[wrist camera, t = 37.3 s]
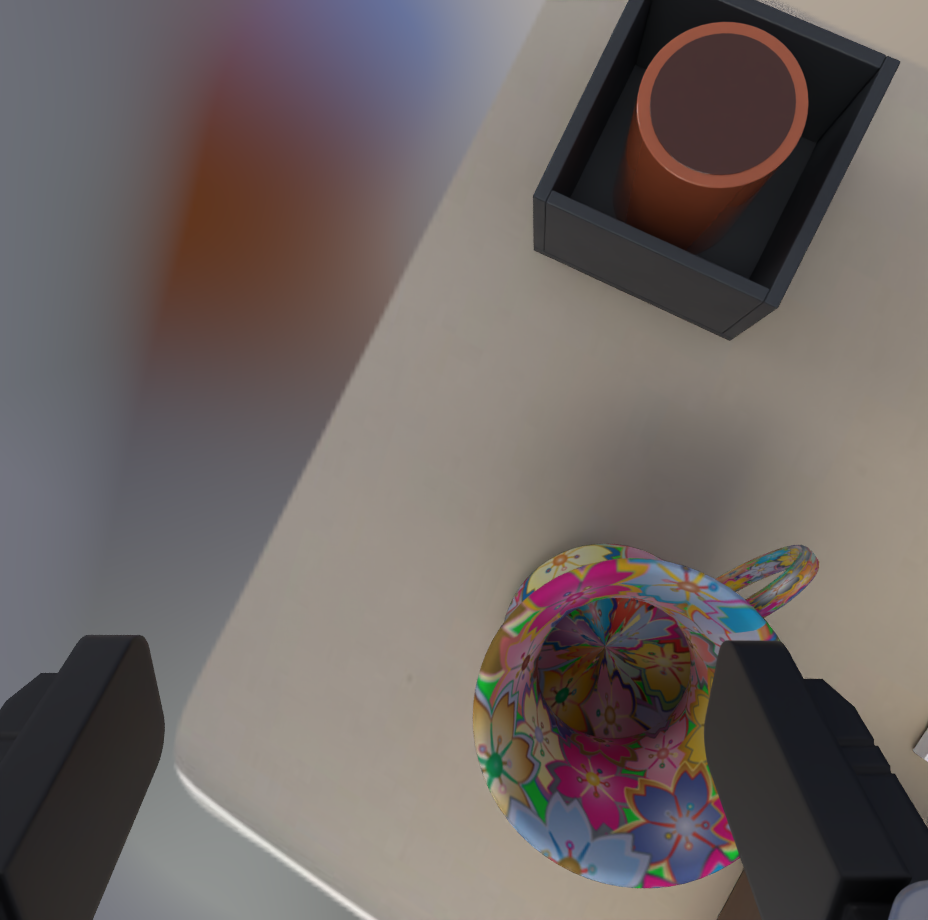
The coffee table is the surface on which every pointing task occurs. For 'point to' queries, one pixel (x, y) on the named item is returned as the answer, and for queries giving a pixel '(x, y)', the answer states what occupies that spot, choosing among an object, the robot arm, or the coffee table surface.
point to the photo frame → (922, 747)
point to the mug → (619, 708)
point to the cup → (708, 132)
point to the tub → (766, 219)
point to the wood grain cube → (741, 903)
